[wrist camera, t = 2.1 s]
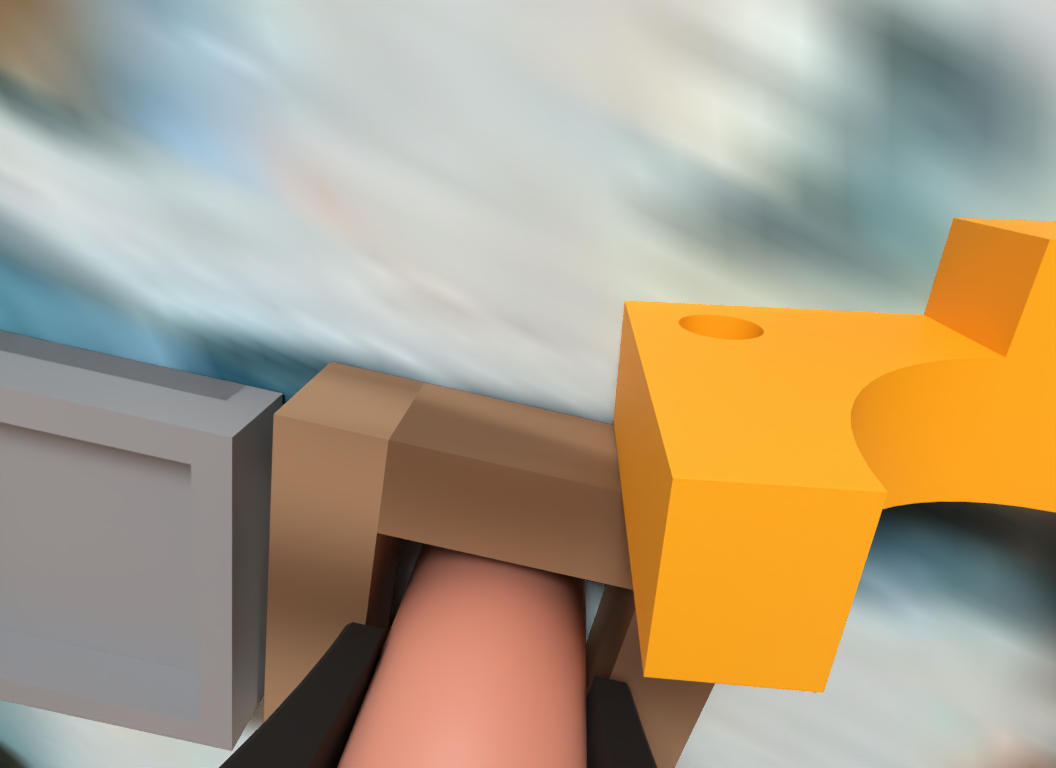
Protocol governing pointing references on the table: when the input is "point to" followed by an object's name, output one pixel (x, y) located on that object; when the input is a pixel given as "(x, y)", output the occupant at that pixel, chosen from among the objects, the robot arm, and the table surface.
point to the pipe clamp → (822, 449)
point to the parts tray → (133, 541)
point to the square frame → (446, 521)
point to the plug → (478, 671)
